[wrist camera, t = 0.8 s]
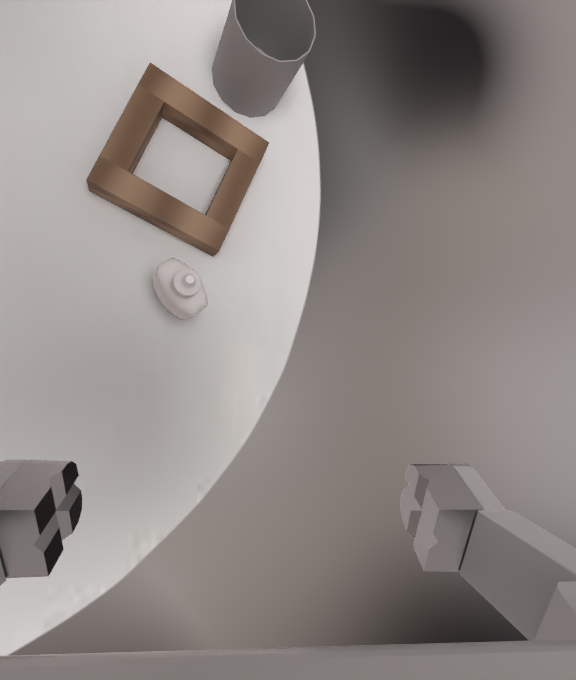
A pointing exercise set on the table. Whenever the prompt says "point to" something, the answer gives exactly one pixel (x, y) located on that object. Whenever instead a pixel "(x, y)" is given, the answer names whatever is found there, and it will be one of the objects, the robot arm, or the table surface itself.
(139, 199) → the socket block
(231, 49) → the cup
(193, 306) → the eye dropper bottle
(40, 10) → the table surface
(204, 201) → the table surface
